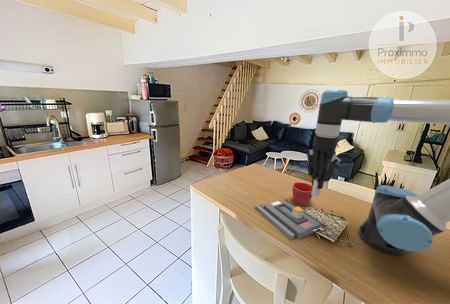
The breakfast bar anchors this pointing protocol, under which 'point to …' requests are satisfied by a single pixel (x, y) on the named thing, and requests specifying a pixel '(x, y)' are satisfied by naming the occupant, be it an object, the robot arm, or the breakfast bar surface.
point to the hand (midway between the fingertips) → (315, 194)
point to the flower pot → (302, 193)
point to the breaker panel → (284, 215)
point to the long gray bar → (309, 216)
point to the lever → (297, 213)
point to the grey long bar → (276, 222)
